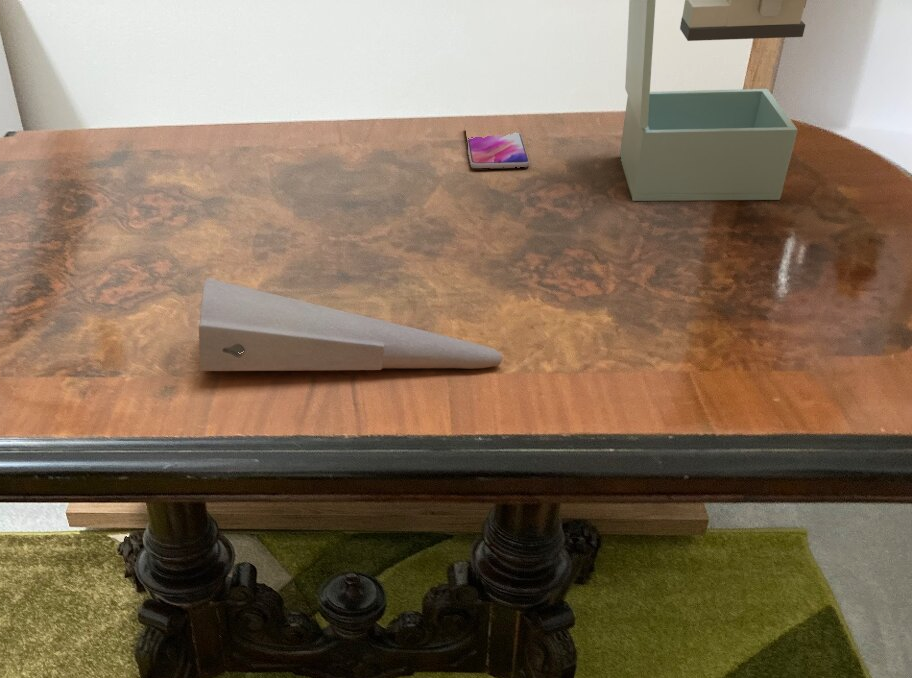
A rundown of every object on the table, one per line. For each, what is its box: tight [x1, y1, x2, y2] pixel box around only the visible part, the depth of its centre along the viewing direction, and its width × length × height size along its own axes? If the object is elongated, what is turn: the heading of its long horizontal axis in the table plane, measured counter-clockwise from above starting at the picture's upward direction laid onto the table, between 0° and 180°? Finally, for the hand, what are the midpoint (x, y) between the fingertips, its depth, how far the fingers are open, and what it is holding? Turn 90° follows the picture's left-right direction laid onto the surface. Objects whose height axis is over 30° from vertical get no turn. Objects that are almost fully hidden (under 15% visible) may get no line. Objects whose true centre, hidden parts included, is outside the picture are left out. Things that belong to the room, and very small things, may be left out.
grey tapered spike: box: [198, 277, 503, 372], centre depth 81 cm, size 8×9×26 cm
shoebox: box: [619, 88, 799, 202], centre depth 105 cm, size 16×14×8 cm
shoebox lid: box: [624, 0, 656, 128], centre depth 99 cm, size 16×14×5 cm
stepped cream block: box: [679, 0, 808, 42], centre depth 93 cm, size 11×5×5 cm, turn 82°
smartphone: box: [467, 132, 530, 169], centre depth 119 cm, size 7×1×15 cm
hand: (760, 7), depth 93 cm, fingers closed on stepped cream block, 4 cm apart
